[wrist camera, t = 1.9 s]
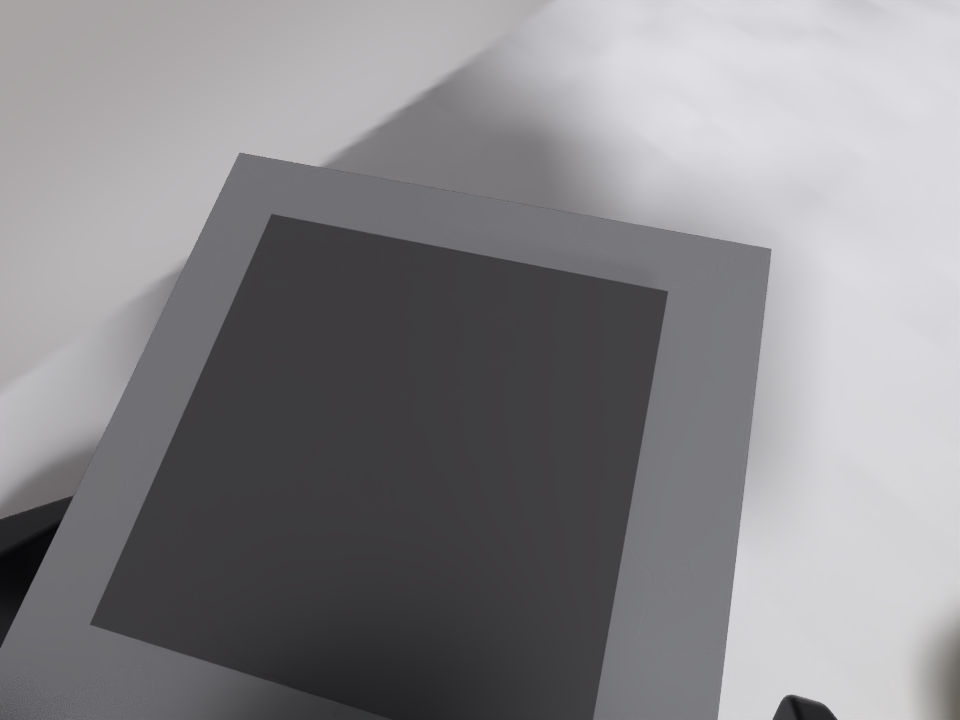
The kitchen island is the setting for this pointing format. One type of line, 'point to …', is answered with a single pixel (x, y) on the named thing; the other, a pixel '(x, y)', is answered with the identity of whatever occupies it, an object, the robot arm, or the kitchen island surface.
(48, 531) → the robot arm
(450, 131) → the kitchen island surface
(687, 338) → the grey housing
